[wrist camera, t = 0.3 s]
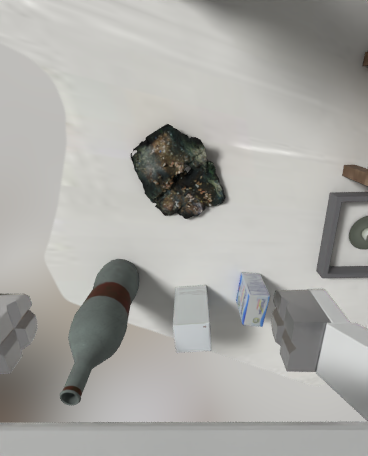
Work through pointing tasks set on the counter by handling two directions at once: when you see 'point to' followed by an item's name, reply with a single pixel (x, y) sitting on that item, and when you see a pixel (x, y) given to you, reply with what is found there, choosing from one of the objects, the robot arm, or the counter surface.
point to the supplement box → (191, 319)
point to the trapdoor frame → (356, 171)
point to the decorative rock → (177, 173)
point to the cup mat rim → (329, 237)
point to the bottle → (100, 324)
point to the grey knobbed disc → (359, 234)
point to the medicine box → (252, 299)
